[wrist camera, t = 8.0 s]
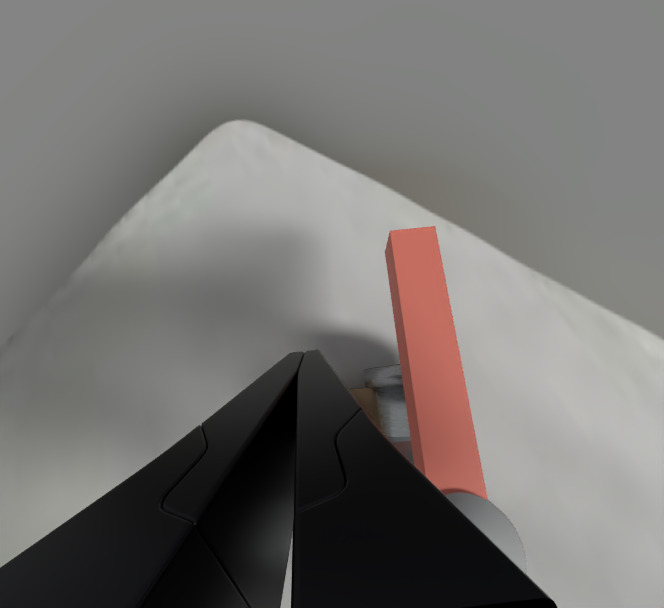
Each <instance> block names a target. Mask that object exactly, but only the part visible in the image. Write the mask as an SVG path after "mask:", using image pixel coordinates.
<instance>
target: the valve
mask: <svg viewBox="0 0 664 608" xmlns="http://www.w3.org/2000/svg"><path fill="white" fill-rule="evenodd" d="M364 376H365V383H366V388H359V389H350V390H349V391H350V392H351V393H352V395H353V396H354V397H355V399H356V400H357V401H358V403H359V404H360V405H361V407H362V408H363V410H365V411H366V413H367V414H368V415H369V417H370V418H371V419H372V421H373V422H374V423H375V424H376V425H377V427H378V428H379V429H380V430H381V432H382V433H383V434H384V435H385V436H386V437H387V438H388V439H389V440H390V441H391V442H392V443H393V444H394V446H395V447H396V448H397V449H398V450H399V451H400V452H401V453H402V454H403V455H404V456H405V457H406V458H407V459H408V460H409V461H410V462H411V463H413V464H414V459H413V451H412V444H411V437H410V430H409V422H408V415H407V408H406V401H405V393H404V386H403V379H402V372H401V364H398V365H390V366H383V367H377V368H371V369H366V370H364Z"/></svg>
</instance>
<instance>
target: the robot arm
mask: <svg viewBox="0 0 664 608" xmlns="http://www.w3.org/2000/svg"><path fill="white" fill-rule="evenodd" d="M201 426H202V427H201ZM201 426H200V425H199V426H197V427H196V428H195V429H194V430H192V431H191V432H190V433H189V434H187V435H186V436H185V437H183V438H182V439H181V440H180V441H178V442H177V443H176V444H174V445H173V446H172V447H170V448H169V449H168V450H167V451H165V452H164V453H163V454H161V455H160V456H159V457H157V458H156V459H154V460H153V461H152V462H150V463H149V464H147V465H146V466H145V467H143V468H142V469H140V470H139V471H138V472H136V473H135V474H133V475H132V476H131V477H129V478H128V479H126V480H125V481H123V482H122V483H121V484H119V485H118V486H116V487H115V488H114V489H112V490H111V491H109V492H108V493H106V494H105V495H104V496H102V497H101V498H99V499H98V500H96V501H95V502H94V503H92V504H91V505H89V506H88V507H86V508H85V509H84V510H82V511H81V512H79V513H78V514H76V515H75V516H74V517H72V518H71V519H69V520H68V521H66V522H65V523H64V524H62V525H61V526H59V527H58V528H56V529H55V530H54V531H52V532H51V533H49V534H48V535H46V536H45V537H44V538H42V539H41V540H39V541H38V542H36V543H35V544H34V545H32V546H31V547H29V548H28V549H26V550H25V551H24V552H22V553H21V554H19V555H18V556H16V557H15V558H14V559H12V560H11V561H9V562H8V563H6V564H5V565H4V566H2V567H1V568H0V608H280V606H281V600H282V594H283V587H284V581H285V575H286V568H287V562H288V556H289V550H290V543H291V537H292V531H293V552H292V590H291V608H557V606H556V604H555V603H554V601H553V600H552V599H551V598H550V597H549V596H548V595H547V594H546V593H545V592H544V591H543V590H542V589H541V588H539V587H538V586H537V585H536V584H535V583H534V582H533V581H532V580H531V579H530V578H529V577H528V576H527V575H526V574H525V573H524V572H523V571H522V570H521V569H520V568H519V567H518V566H517V565H516V564H515V563H514V562H513V561H512V560H511V559H510V558H509V557H508V556H507V555H506V554H505V553H504V552H503V551H502V550H501V549H500V548H499V547H498V546H496V545H495V544H494V543H493V542H492V541H491V540H490V539H489V538H488V537H487V536H486V535H485V534H484V533H483V532H482V531H481V530H480V529H479V528H478V527H477V526H476V525H475V524H474V523H473V522H472V521H471V520H470V519H469V518H468V517H467V516H466V515H465V514H464V513H463V512H462V511H461V510H460V509H459V508H458V507H457V506H456V505H454V504H453V503H452V502H451V501H450V500H449V499H448V498H447V497H446V496H445V495H444V494H443V493H442V492H441V491H440V490H439V489H438V488H437V487H436V486H435V485H434V484H433V483H432V482H431V481H430V480H429V479H428V478H427V477H426V476H425V475H424V474H423V473H422V472H421V471H420V470H419V469H418V468H417V467H416V466H415V465H414V464H413V463H411V462H410V461H409V460H408V459H407V458H406V457H405V456H404V455H403V454H402V453H401V452H400V451H399V450H398V449H397V448H396V447H395V446H394V444H393V443H392V442H391V441H390V440H389V439H388V438H387V437H386V436H385V435H384V434H383V433H382V432H381V430H380V429H379V428H378V427H377V425H376V424H375V423H374V422H373V421H372V419H371V418H370V417H369V415H368V414H367V413H366V411H365V410H363V408H362V407H361V405H360V404H359V403H358V401H357V400H356V399H355V397H354V396H353V395H352V393H351V392H350V391H349V389H348V388H347V387H346V385H345V384H344V383H343V381H342V380H341V379H340V377H339V376H338V375H337V373H336V372H335V371H334V369H333V368H332V367H331V365H330V364H329V363H328V361H327V360H326V359H325V357H324V356H323V355H322V353H321V352H320V351H319V350H311V351H306V352H305V353H304V352H292V353H289V354H288V355H287V356H286V357H284V358H283V359H282V360H281V361H279V362H278V363H277V364H276V365H274V366H273V367H272V368H271V369H269V370H268V371H267V372H266V373H264V374H263V375H262V376H261V377H259V378H258V379H257V380H256V381H254V382H253V383H252V384H251V385H249V386H248V387H247V388H246V389H244V390H243V391H242V392H241V393H239V394H238V395H237V396H236V397H234V398H233V399H232V400H231V401H229V402H228V403H227V404H226V405H224V406H223V407H222V408H221V409H219V410H218V411H217V412H216V413H214V414H213V415H212V416H211V417H209V418H208V419H207V420H206V421H204V422H203V423H202V424H201Z"/></svg>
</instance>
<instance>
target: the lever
mask: <svg viewBox="0 0 664 608" xmlns="http://www.w3.org/2000/svg"><path fill="white" fill-rule="evenodd" d="M385 256H386V263H387V270H388V278H389V285H390V292H391V299H392V307H393V314H394V321H395V328H396V335H397V343H398V350H399V357H400V364H401V372H402V379H403V386H404V393H405V401H406V408H407V415H408V422H409V430H410V437H411V444H412V451H413V459H414V465H415V466H416V467H417V468H418V469H419V470H420V471H421V472H422V473H423V474H424V475H425V476H426V477H427V478H428V479H429V480H430V481H431V482H432V483H433V484H434V485H435V486H436V487H437V488H438V489H439V490H440V491H441V492H442V493H443V494H444V495H445V496H446V497H447V498H448V499H449V500H450V501H451V502H452V503H453V504H454V505H456V506H457V507H458V508H459V509H460V510H461V511H462V512H463V513H464V514H465V515H466V516H467V517H468V518H469V519H470V520H471V521H472V522H473V523H474V524H475V525H476V526H477V527H478V528H479V529H480V530H481V531H482V532H483V533H484V534H485V535H486V536H487V537H488V538H489V539H490V540H491V541H492V542H493V543H494V544H495V545H496V546H498V547H499V548H500V549H501V550H502V551H503V552H504V553H505V554H506V555H507V556H508V557H509V558H510V559H511V560H512V561H513V562H514V563H515V564H516V565H517V566H518V567H519V568H520V569H521V570H522V571H523V572H524V573H525V574H526V557H525V552H524V548H523V544H522V542H521V539H520V537H519V535H518V533H517V531H516V529H515V527H514V526H513V524H512V523H511V521H510V520H509V519H508V518H507V516H506V515H505V514H504V513H503V512H502V511H501V510H499V509H498V508H497V507H496V506H495V505H494V504H492V503H491V502H490V501H489V500H488V499H487V494H486V488H485V483H484V478H483V473H482V468H481V462H480V457H479V452H478V447H477V442H476V436H475V431H474V426H473V421H472V415H471V410H470V405H469V400H468V395H467V389H466V384H465V379H464V374H463V369H462V363H461V358H460V353H459V348H458V343H457V337H456V332H455V327H454V322H453V316H452V311H451V306H450V301H449V296H448V290H447V285H446V280H445V275H444V270H443V264H442V259H441V254H440V249H439V244H438V238H437V233H436V228H435V226H432V227H423V228H413V229H403V230H394V231H390V233H389V237H388V242H387V246H386V250H385Z"/></svg>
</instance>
